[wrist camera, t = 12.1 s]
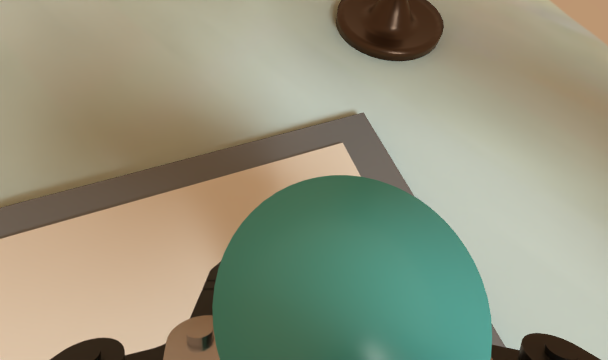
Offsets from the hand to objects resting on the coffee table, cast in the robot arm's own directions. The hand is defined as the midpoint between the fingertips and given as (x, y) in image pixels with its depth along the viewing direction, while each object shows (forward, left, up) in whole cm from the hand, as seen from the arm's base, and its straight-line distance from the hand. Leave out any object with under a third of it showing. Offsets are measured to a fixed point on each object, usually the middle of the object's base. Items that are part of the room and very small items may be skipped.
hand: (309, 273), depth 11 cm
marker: (+1, +2, -5) cm, 6 cm away
